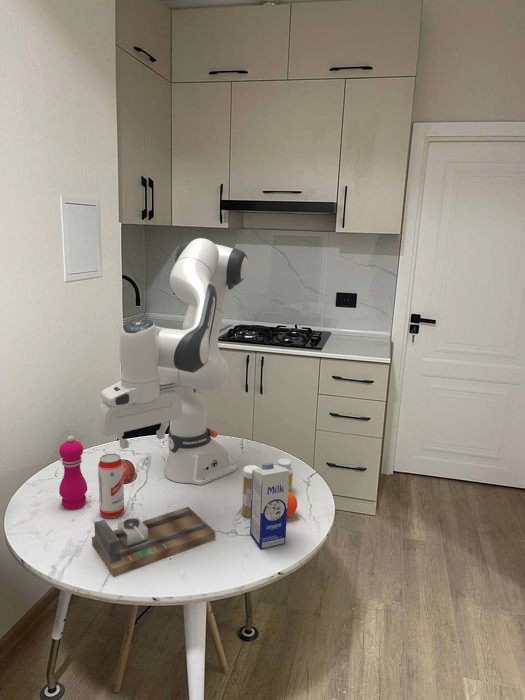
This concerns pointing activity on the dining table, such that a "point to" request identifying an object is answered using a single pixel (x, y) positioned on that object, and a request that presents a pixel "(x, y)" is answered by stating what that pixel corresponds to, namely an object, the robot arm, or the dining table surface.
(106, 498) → the beer can
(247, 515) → the sprinkles bottle
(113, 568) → the gauge base
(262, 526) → the milk carton
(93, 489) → the dining table surface
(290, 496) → the clementine
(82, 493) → the pepper mill
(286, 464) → the supplement bottle
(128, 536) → the gauge carriage
